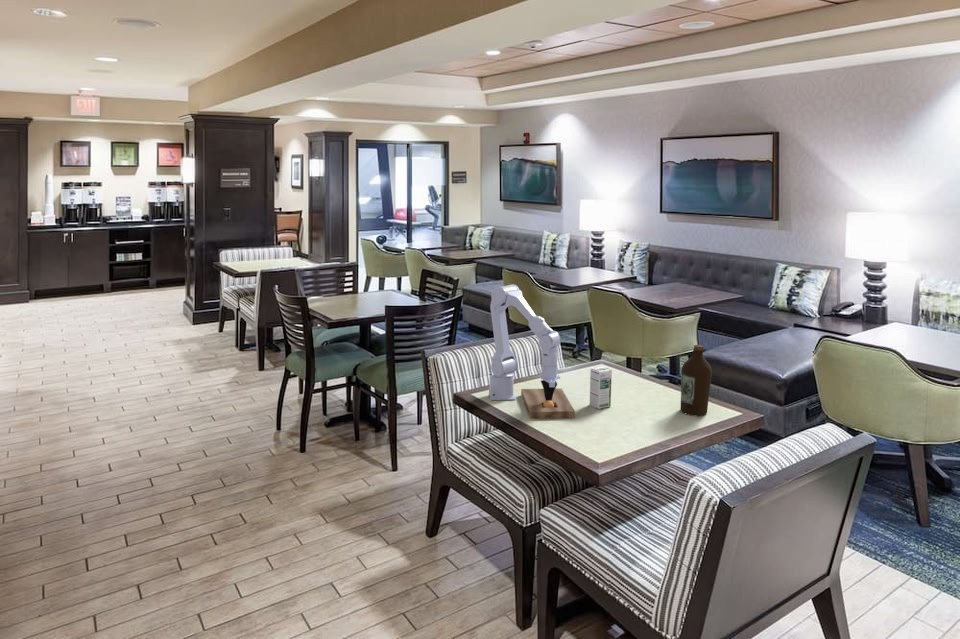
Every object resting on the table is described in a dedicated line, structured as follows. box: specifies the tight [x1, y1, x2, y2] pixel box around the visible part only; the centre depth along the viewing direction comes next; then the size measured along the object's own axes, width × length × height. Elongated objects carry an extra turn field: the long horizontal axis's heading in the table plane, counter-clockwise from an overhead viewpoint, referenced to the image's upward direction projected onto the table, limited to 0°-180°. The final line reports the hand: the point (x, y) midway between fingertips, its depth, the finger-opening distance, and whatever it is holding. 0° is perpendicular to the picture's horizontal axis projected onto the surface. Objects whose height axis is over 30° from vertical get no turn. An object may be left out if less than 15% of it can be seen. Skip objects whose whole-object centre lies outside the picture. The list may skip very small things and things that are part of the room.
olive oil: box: [679, 344, 713, 416], centre depth 245 cm, size 11×11×25 cm
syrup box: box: [589, 366, 613, 410], centre depth 252 cm, size 6×6×14 cm
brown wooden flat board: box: [520, 387, 576, 419], centre depth 253 cm, size 16×26×2 cm, turn 4°
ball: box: [543, 400, 554, 408], centre depth 248 cm, size 4×4×4 cm
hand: (548, 400), depth 249 cm, fingers closed
